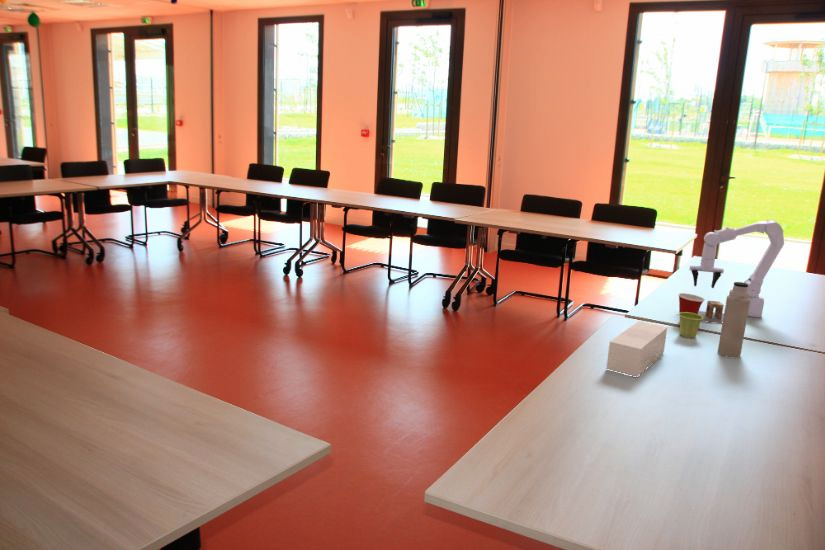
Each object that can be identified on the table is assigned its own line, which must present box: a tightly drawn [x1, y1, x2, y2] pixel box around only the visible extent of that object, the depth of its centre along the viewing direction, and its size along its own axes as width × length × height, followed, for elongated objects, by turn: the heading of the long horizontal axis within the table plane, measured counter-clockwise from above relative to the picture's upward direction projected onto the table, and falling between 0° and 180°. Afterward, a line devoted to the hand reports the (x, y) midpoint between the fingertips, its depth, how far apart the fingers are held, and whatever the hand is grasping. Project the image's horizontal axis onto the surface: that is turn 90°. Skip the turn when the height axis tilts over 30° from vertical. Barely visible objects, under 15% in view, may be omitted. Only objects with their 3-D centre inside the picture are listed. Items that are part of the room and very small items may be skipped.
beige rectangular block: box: [605, 320, 668, 377], centre depth 249 cm, size 32×11×11 cm, turn 145°
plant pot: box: [678, 312, 703, 339], centre depth 282 cm, size 9×9×9 cm
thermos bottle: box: [717, 281, 750, 358], centre depth 260 cm, size 8×8×28 cm
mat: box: [698, 310, 724, 324], centre depth 310 cm, size 16×16×1 cm
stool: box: [705, 300, 725, 319], centre depth 310 cm, size 5×5×7 cm
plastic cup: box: [678, 292, 705, 314], centre depth 300 cm, size 11×11×12 cm
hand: (703, 286), depth 323 cm, fingers open, 7 cm apart
